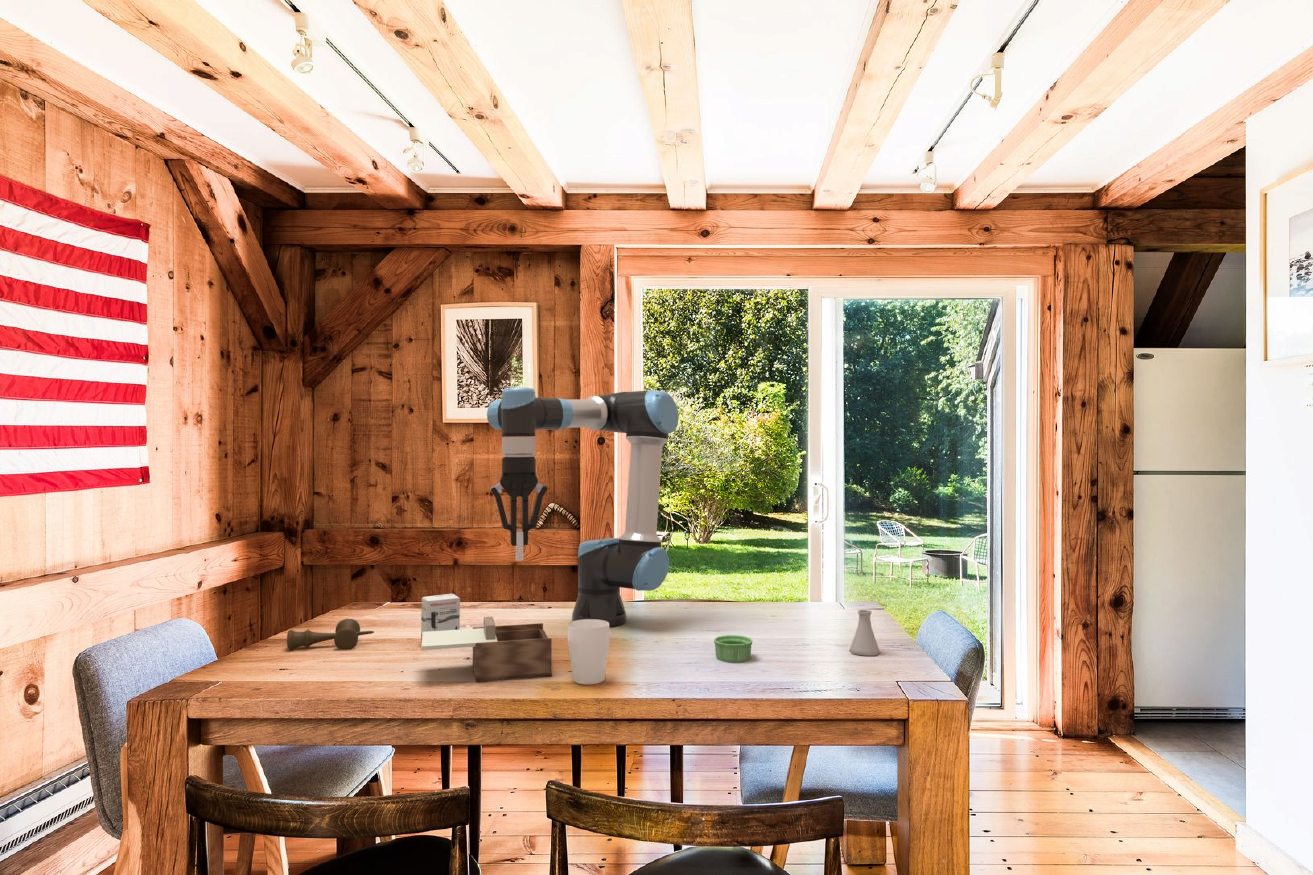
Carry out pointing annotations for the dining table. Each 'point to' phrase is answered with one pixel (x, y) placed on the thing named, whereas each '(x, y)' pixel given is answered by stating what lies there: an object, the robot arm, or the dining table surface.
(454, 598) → the ink box
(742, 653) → the ramekin
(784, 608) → the dining table surface
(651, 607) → the dining table surface
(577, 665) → the cup
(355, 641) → the kendama
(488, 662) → the box
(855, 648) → the flask
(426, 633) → the lid
